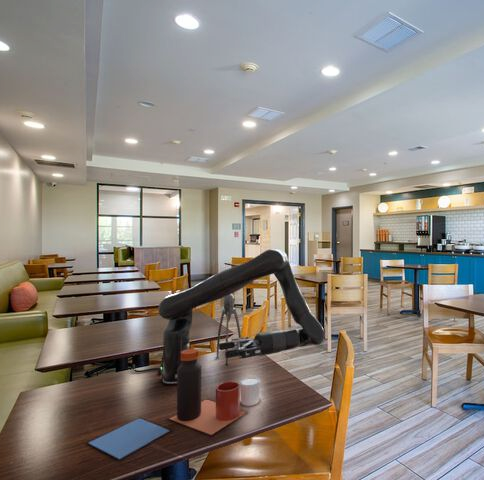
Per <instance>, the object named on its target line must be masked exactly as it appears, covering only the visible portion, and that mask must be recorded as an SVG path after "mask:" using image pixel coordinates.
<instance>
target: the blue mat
mask: <svg viewBox="0 0 484 480" xmlns="http://www.w3.org/2000/svg"><path fill="white" fill-rule="evenodd" d="M170 431H171V430H169V429H167V428H165V427H163V426H160V425H158V424H155V423H153V422H150V421H147V420H144V419H142V418H140V417H139V418H137V419H135V420H133V421H131V422H129V423H127V424H125V425H123V426H120V427H118V428H116V429H114V430H112V431H110V432H107V433H106V434H104V435H102V436H99V437H97V438H95V439H93V440H91V441H89V442H88V443H87V444H88V445H89V446H92V447H94V448H95V449H97V450H100V451H101V452H103V453H106V454H108V455H109V456H110V457H112V458H115V459H117V460H119V461H120V460H122V459H124V458H125V457H127V456H129V455H130V454H133V453H134V452H136V451H139V450H140V449H141V448H143V447H145V446H147V445H149V444H150V443H151V442H153V441H155V440H156V439H157V438H160V437H161V436H163V435H166V434H167V433H168V432H170Z"/></svg>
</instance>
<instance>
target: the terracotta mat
mask: <svg viewBox="0 0 484 480" xmlns="http://www.w3.org/2000/svg"><path fill="white" fill-rule="evenodd" d="M246 413H247V412H246V411H244V410H241V409H240V413H239V416H238V417H236V418H235V419H232V420H228V421H220V420H218V419H216V401H213V400H209V399H204V400H201V414H200V416H199V417H197V418H196V419H193V420H190V421H181V420H179V419H178V418H177V414H175V415H173V416H171V417H170V418H168V419H169V420H171V421H172V422H173V421H174V422H176V423H178V424H181V425H184V426H187V427H189V428H192V429H195V430H196V431H200V432H203V433H205V434H208V435H210V436H213V435H214V434H215V433H217V432H219V431H221V429H223V428H225V427H226V426H228V425H229V424H231V423H232V422H234V421H236V420H237V419H239V418H240V417H242V416H243V415H245V414H246Z"/></svg>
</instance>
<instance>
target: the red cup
mask: <svg viewBox="0 0 484 480" xmlns="http://www.w3.org/2000/svg"><path fill="white" fill-rule="evenodd" d="M215 402H216V419H218V420H220V421H228V420H232V419H235V418H236V417H238V416H239V413H240V410H241V409H240V407H241V405H240V404H241V392H240V382H239V381H233V380H229V381H224V382H221V383H219V384H217V385H216V386H215Z"/></svg>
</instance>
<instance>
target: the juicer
mask: <svg viewBox="0 0 484 480" xmlns="http://www.w3.org/2000/svg"><path fill="white" fill-rule="evenodd" d="M222 305H223V309H222V310H221V315H220V320H219V325H218V331H217V333H218V334H217V342H216V345H217V346H216V359H219V355H220V353H219V352H220V349H219V344H220V343H221V341H220V340H221V332H222V325H223V321H224V317H226V328H225V329H226V330H225V342H229V322H230V320H231V317H232V315H234V318H235V323H236V328H237V333H238V338H242V334H241V326H240V322H239V321H240V320H239V316H238V313H237V309H236V308H235V296H234V293H232V294H230V295H228V296H226V297H224V298H222ZM227 350H229V349H226V350H225V352H226V351H227ZM228 360H229V358H226V357H225V366H228V363H229V362H228Z"/></svg>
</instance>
